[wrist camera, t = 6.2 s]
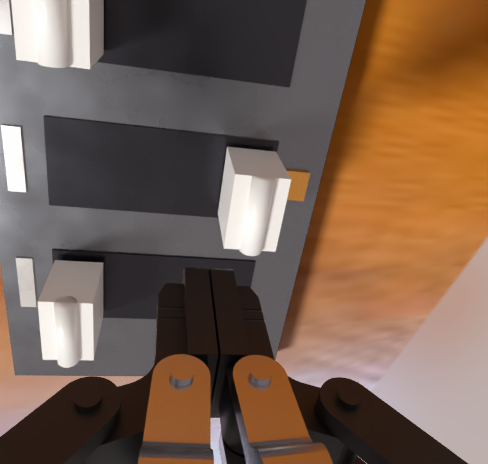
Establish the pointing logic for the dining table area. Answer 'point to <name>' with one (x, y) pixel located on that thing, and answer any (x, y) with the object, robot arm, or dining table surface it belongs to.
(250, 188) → the breaker
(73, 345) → the breaker
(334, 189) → the dining table surface
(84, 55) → the breaker
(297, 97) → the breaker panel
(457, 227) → the dining table surface
